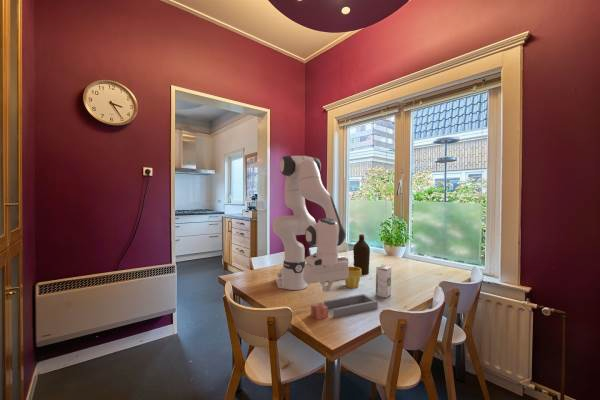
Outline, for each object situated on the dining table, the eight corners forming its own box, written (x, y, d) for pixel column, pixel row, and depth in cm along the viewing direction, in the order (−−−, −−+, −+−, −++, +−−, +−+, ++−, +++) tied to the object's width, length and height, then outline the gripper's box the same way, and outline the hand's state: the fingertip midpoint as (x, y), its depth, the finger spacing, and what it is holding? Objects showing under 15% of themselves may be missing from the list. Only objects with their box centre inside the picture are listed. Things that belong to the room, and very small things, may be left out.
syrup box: (379, 292, 130) (380, 264, 130) (391, 295, 126) (391, 266, 126) (375, 295, 125) (375, 266, 125) (387, 298, 122) (387, 268, 122)
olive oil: (373, 273, 163) (373, 234, 163) (362, 276, 157) (362, 236, 157) (360, 269, 172) (360, 233, 172) (349, 272, 165) (349, 234, 165)
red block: (321, 314, 105) (310, 317, 102) (321, 302, 105) (310, 304, 102) (328, 319, 100) (317, 322, 98) (328, 307, 100) (317, 309, 98)
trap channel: (323, 310, 108) (323, 301, 108) (363, 302, 117) (363, 293, 117) (335, 320, 100) (335, 309, 100) (377, 310, 108) (377, 301, 108)
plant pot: (339, 283, 142) (339, 266, 142) (356, 282, 145) (356, 265, 145) (347, 290, 132) (347, 271, 132) (365, 288, 135) (365, 270, 135)
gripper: (344, 254, 111) (343, 285, 111) (301, 258, 103) (301, 291, 103) (352, 257, 105) (351, 290, 105) (308, 262, 97) (307, 297, 97)
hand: (326, 291), depth 104 cm, fingers closed
